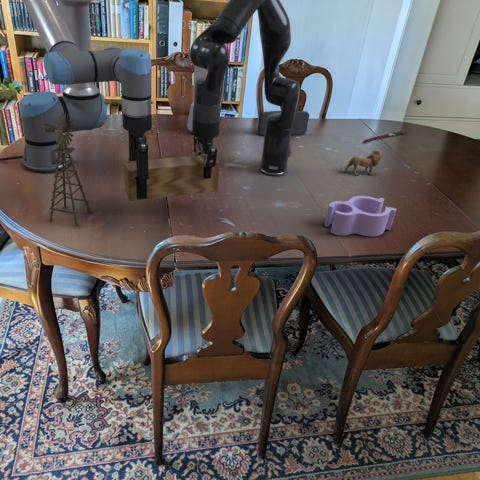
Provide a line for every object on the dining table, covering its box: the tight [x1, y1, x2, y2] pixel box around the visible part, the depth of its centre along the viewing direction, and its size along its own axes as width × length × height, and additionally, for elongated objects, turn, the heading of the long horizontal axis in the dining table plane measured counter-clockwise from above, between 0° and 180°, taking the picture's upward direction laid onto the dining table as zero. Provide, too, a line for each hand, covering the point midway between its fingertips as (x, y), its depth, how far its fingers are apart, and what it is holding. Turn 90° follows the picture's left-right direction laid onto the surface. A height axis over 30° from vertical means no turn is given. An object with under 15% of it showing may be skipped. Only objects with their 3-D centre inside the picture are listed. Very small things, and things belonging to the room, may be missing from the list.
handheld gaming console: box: [257, 110, 310, 136], centre depth 203 cm, size 23×3×10 cm, turn 108°
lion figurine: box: [343, 149, 383, 176], centre depth 175 cm, size 15×5×9 cm, turn 110°
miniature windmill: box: [44, 113, 92, 227], centre depth 124 cm, size 9×8×30 cm
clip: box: [324, 195, 398, 237], centre depth 141 cm, size 20×12×7 cm, turn 109°
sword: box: [363, 131, 407, 144], centre depth 214 cm, size 31×3×1 cm, turn 126°
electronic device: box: [186, 65, 208, 134], centre depth 192 cm, size 12×8×30 cm, turn 148°
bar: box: [123, 154, 220, 202], centre depth 135 cm, size 26×6×9 cm, turn 113°
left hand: (139, 192), depth 133 cm, fingers closed on bar, 6 cm apart
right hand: (203, 172), depth 138 cm, fingers closed on bar, 6 cm apart
